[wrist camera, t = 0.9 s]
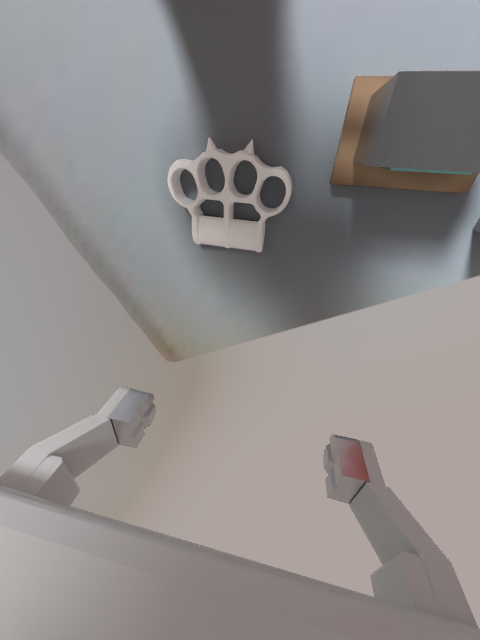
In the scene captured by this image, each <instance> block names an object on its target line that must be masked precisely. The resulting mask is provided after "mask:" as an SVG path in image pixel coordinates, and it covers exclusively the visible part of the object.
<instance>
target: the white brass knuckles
mask: <svg viewBox="0 0 480 640" xmlns="http://www.w3.org/2000/svg"><path fill="white" fill-rule="evenodd" d="M211 158H214V159H216V160H217V161H218V162H219V163H220V164H221V166H222V169H223V172H224V177H225V185H224V188H223V190H222V191H221V192H215V191H213V190H212V189H211V188H210V187H209V185H208V183H207V179H206V176H205V166H206V164H207V162H208V161H209V160H210V159H211ZM244 160H247V161H249V162H251V163H252V164H253V165H254V166H255V168H256V171H257V182H256V184H255V187H254V190H253V192H252V193H251V194H249V195H243V194H241V193H239V192H238V191H237V189H236V188H235V185H234V175H235V172H236V168H237V166H238V165H239V163H240V162H242V161H244ZM184 169H186V170H188V171H189V172H190V173H191V174H192V175H193V177H194V179H195V182H196V185H197V189H198V195H197V198H196V200H195V201H194V200H190V199H189V198H187V197H186V195H185V194H184V192H183V189H182V186H181V183H180V176H181V173H182V172H183V170H184ZM270 176H276V177H279V178H280V179H282V180H283V182H284V184H285V186H286V195H285V198H284V200H283V202H282V204H281V205H280V206H278V207H276V208H267V207H266V206H264V205H263V203H262V202H261V199H260V191H261V188H262V185H263V183H264V181H265V180H266V178H268V177H270ZM168 187H169V190H170V193H171V195H172V196H173V198H174V199H175V200H176V202H177V203H179V204H180V205H181V206H183V207H185V208H187V209H188V211H189V212H190V214H191V216H192V236H193V240H194V243H196V244H199V245H200V244H207V245H214V246H222V247H225V248H237V249H245V250H252V251H256V252H262V250H263V244H264V236H265V220H266V219H267V218H268V217H270V216H274V215H277V214H278V213H280V212H281V211H282V210H283V209H284V208H285V207H286V205H287V204H288V202H289V199H290V197H291V193H292V180H291V177H290V175H289V173H288V172H287V170H286V169H285V168H284V167H282V166H278V167H270V166H267V165H265V164H264V163H263V162H262V161H261V160H260V159H259V158H258V156H257V155H254V146H253V139H252V140H251V141H250V142H249V144H248V145H247V146H246V148H245V149H244V150H239V151H238V152H236V153H233V154H230V153H227V152H225V151H224V150H222V149H217V148H216V146H215V145H214V143H213V142H212V140H211V139H210V137H209V138H208V144H207V150H206V152H202V153H201V154H200V156H199V157H198V158H197V159H195V160H193V161H191V160H188V159H178V160H177V161H175V162H174V163H173V164H172V166H171V167H170V169H169V172H168ZM206 199H209V200H219V201H221V202H222V203H223V205H224V218H221V217H212V216H203V212H202V210H201V208H200V205H201V204H202V203H203V202H204V201H205V200H206ZM234 202H239V203H249V204H252V205H253V206H254V207H255V209H256V211H257V212H258V213H259V214H260V216H261V218H260V220H259V221H258V222H257V221H248V220H239V219H233V217H234Z"/></svg>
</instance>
